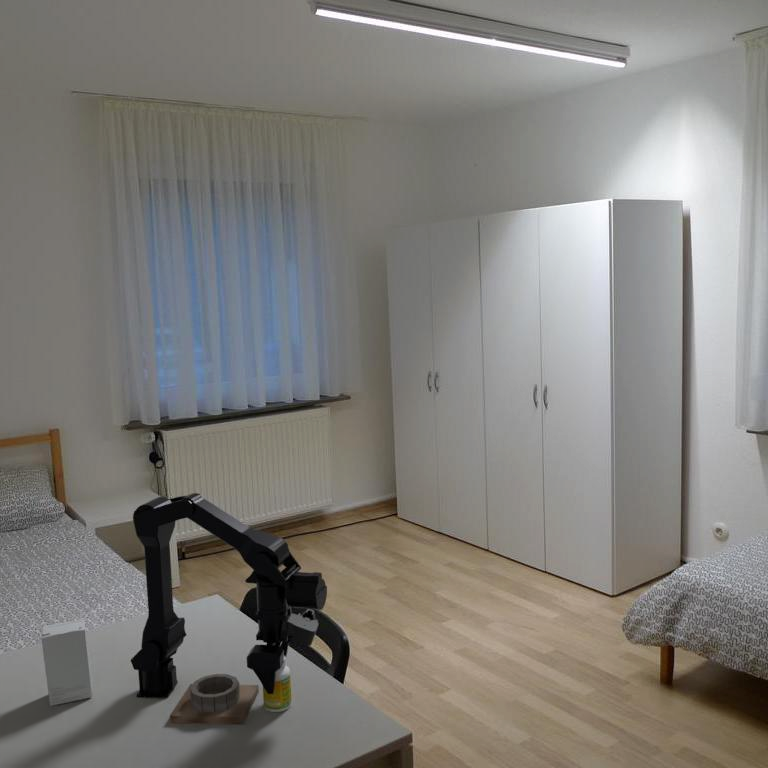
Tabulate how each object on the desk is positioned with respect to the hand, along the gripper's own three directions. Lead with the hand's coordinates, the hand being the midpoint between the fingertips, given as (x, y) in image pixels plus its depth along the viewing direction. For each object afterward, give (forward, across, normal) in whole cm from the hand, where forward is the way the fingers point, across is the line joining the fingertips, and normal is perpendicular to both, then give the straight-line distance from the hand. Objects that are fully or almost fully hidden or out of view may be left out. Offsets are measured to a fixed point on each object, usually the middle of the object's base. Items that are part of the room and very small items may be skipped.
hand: (276, 681), depth 157 cm
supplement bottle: (+5, 0, 0) cm, 5 cm away
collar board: (+5, -1, +12) cm, 13 cm away
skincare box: (+5, +2, +43) cm, 43 cm away
